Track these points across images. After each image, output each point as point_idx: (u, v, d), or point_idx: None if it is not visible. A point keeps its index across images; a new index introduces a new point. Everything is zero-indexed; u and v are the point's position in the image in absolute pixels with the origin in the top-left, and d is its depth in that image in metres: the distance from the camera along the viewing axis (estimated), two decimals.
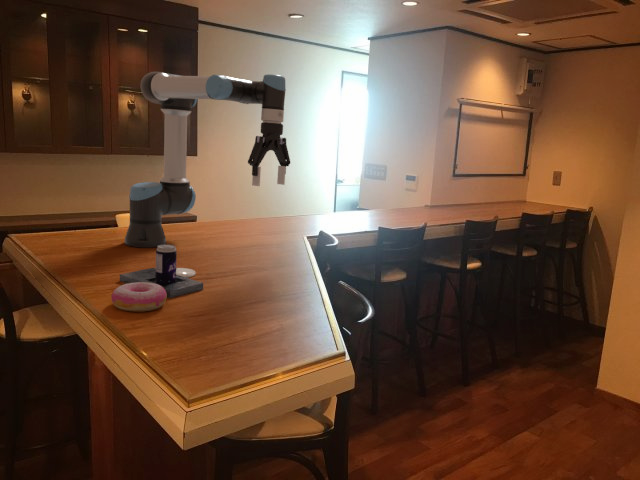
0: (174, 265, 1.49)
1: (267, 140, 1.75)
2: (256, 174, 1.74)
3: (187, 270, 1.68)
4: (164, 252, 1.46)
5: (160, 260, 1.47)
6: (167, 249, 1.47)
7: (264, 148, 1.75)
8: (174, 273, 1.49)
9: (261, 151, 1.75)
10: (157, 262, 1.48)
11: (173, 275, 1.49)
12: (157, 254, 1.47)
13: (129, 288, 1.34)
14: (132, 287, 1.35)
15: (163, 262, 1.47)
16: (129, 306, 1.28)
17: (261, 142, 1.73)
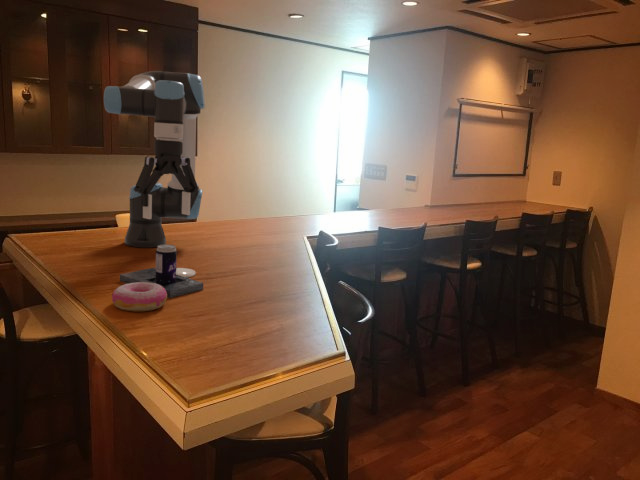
0: (174, 265, 1.49)
1: (161, 162, 1.41)
2: (146, 204, 1.40)
3: (187, 270, 1.68)
4: (164, 252, 1.46)
5: (160, 260, 1.47)
6: (167, 249, 1.47)
7: (157, 172, 1.41)
8: (174, 273, 1.49)
9: (153, 175, 1.41)
10: (157, 262, 1.48)
11: (173, 275, 1.49)
12: (157, 254, 1.47)
13: (129, 288, 1.34)
14: (132, 287, 1.35)
15: (163, 262, 1.47)
16: (129, 306, 1.28)
17: (151, 165, 1.38)
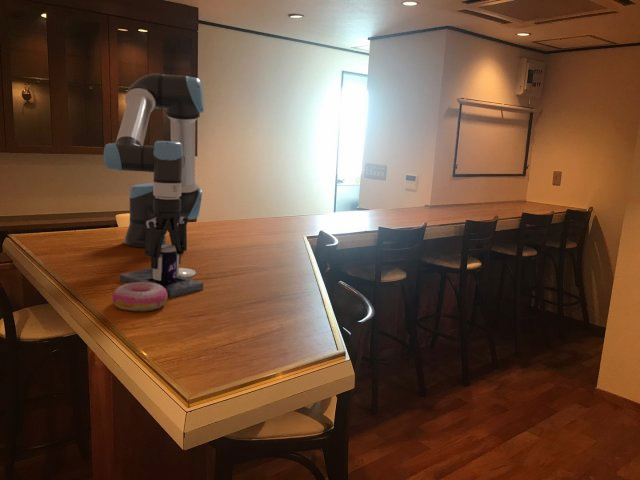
0: (174, 265, 1.49)
1: (160, 220, 1.44)
2: (156, 267, 1.46)
3: (187, 270, 1.68)
4: (164, 251, 1.46)
5: None
6: (167, 249, 1.47)
7: (159, 232, 1.45)
8: (174, 273, 1.49)
9: (157, 237, 1.46)
10: None
11: (173, 275, 1.49)
12: None
13: (130, 288, 1.34)
14: (133, 287, 1.35)
15: (163, 262, 1.47)
16: (130, 306, 1.28)
17: (152, 228, 1.42)
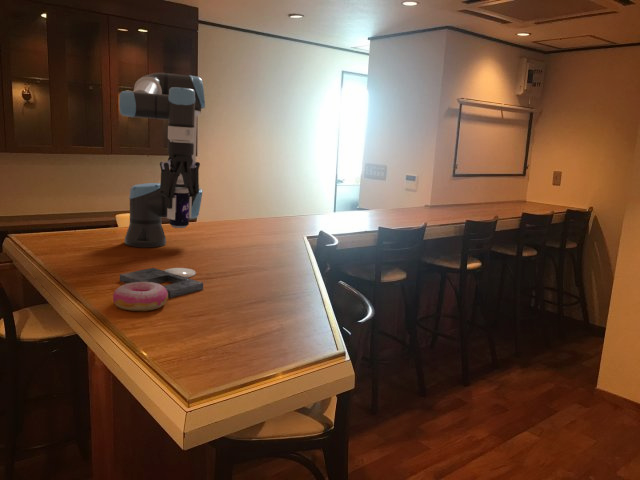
0: (187, 206, 1.59)
1: (174, 162, 1.54)
2: (170, 206, 1.56)
3: (187, 270, 1.68)
4: (178, 192, 1.56)
5: None
6: (181, 190, 1.57)
7: (174, 174, 1.55)
8: (187, 213, 1.60)
9: (171, 178, 1.56)
10: None
11: (186, 215, 1.59)
12: None
13: (130, 288, 1.34)
14: (133, 287, 1.35)
15: (177, 203, 1.57)
16: (130, 305, 1.28)
17: (167, 169, 1.52)
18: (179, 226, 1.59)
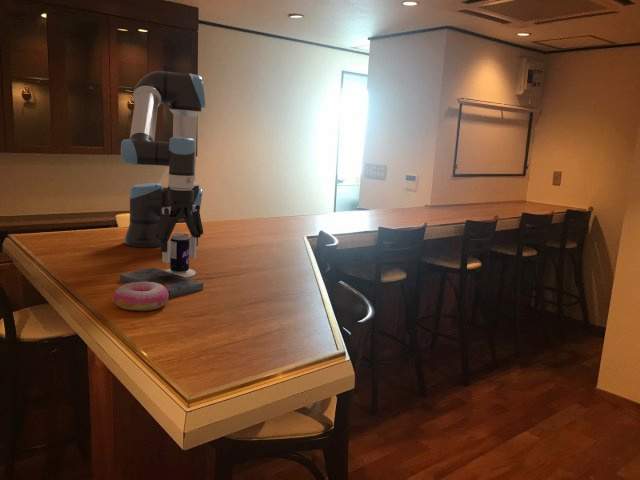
0: (187, 252, 1.63)
1: (174, 209, 1.58)
2: (165, 250, 1.58)
3: None
4: (178, 239, 1.60)
5: (174, 247, 1.61)
6: (181, 237, 1.61)
7: (172, 219, 1.59)
8: (187, 259, 1.64)
9: (169, 223, 1.59)
10: (172, 249, 1.62)
11: (186, 261, 1.63)
12: (172, 241, 1.61)
13: (131, 287, 1.34)
14: (134, 286, 1.35)
15: (178, 249, 1.61)
16: (131, 305, 1.28)
17: (167, 214, 1.56)
18: (179, 272, 1.63)
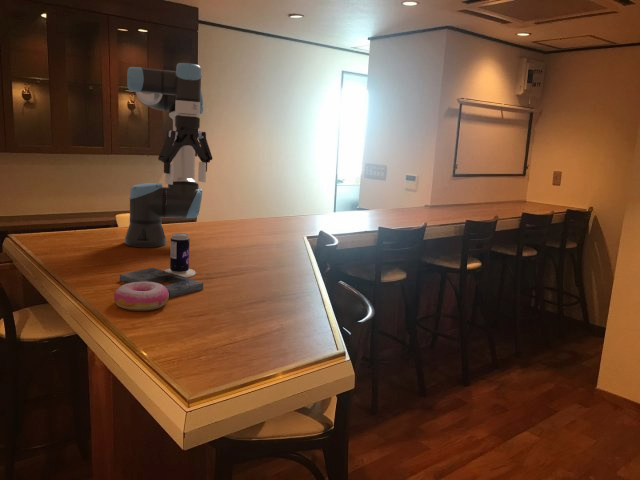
0: (187, 252, 1.63)
1: (181, 135, 1.62)
2: (168, 172, 1.61)
3: None
4: (178, 239, 1.60)
5: (174, 247, 1.61)
6: (181, 237, 1.61)
7: (178, 143, 1.62)
8: (187, 259, 1.64)
9: (174, 147, 1.62)
10: (172, 249, 1.62)
11: (186, 261, 1.63)
12: (172, 241, 1.61)
13: (131, 287, 1.34)
14: (134, 286, 1.35)
15: (178, 249, 1.61)
16: (131, 305, 1.28)
17: (173, 137, 1.59)
18: (179, 272, 1.63)
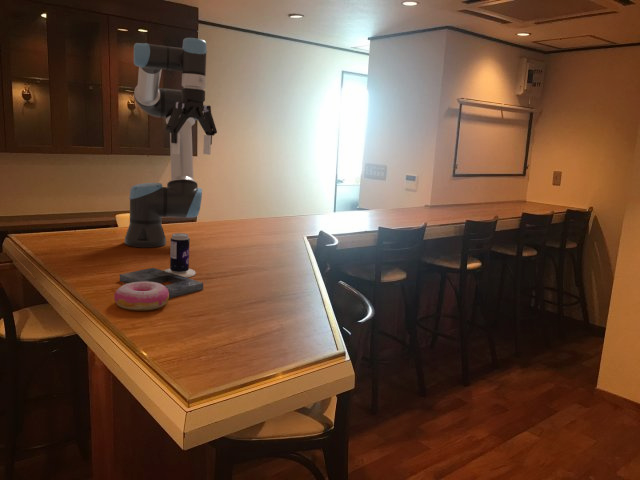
0: (187, 252, 1.63)
1: (187, 106, 1.69)
2: (175, 141, 1.68)
3: None
4: (178, 239, 1.60)
5: (174, 247, 1.61)
6: (181, 237, 1.61)
7: (184, 115, 1.69)
8: (187, 259, 1.64)
9: (181, 118, 1.69)
10: (172, 249, 1.62)
11: (186, 261, 1.63)
12: (172, 241, 1.61)
13: (132, 287, 1.34)
14: (134, 286, 1.36)
15: (178, 249, 1.61)
16: (132, 305, 1.28)
17: (180, 108, 1.67)
18: (179, 272, 1.63)
